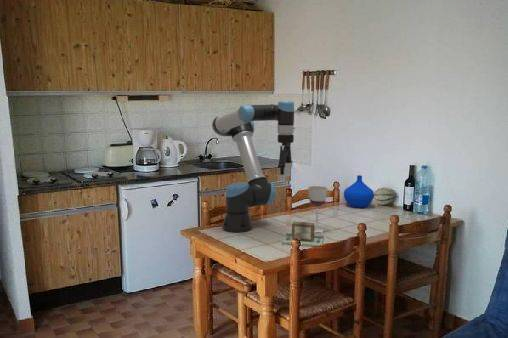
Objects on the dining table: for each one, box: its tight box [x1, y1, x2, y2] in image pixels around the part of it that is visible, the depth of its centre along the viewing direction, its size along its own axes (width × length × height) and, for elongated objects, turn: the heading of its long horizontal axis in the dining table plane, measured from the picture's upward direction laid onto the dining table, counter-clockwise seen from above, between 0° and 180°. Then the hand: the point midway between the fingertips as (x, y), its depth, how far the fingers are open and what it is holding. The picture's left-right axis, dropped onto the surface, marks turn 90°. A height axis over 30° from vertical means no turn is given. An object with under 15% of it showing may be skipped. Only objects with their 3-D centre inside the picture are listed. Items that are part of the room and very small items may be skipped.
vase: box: [343, 174, 375, 209], centre depth 283 cm, size 18×18×19 cm
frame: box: [291, 221, 316, 242], centre depth 215 cm, size 10×4×8 cm, turn 76°
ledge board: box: [281, 232, 325, 247], centre depth 215 cm, size 18×12×2 cm, turn 76°
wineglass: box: [307, 185, 328, 233], centre depth 232 cm, size 9×10×22 cm
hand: (285, 178), depth 218 cm, fingers open, 13 cm apart
